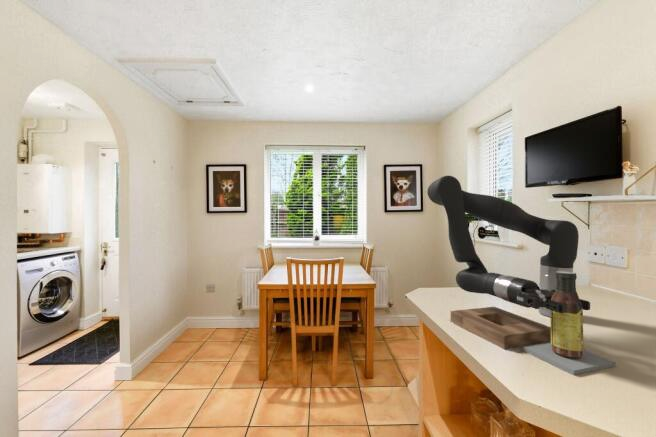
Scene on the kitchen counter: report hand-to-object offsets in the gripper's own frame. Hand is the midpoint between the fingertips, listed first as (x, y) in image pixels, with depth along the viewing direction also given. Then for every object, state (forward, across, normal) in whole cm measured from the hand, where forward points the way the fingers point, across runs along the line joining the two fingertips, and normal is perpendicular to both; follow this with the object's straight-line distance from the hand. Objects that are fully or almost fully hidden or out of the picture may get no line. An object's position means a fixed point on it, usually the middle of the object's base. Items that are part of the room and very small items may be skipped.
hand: (577, 307), depth 72 cm
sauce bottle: (-2, 0, +12) cm, 12 cm away
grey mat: (-2, 0, +13) cm, 13 cm away
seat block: (-20, -2, +13) cm, 24 cm away
